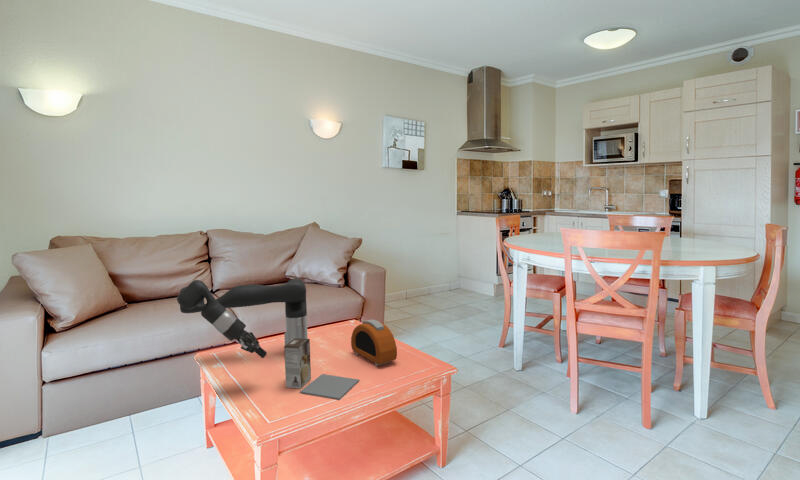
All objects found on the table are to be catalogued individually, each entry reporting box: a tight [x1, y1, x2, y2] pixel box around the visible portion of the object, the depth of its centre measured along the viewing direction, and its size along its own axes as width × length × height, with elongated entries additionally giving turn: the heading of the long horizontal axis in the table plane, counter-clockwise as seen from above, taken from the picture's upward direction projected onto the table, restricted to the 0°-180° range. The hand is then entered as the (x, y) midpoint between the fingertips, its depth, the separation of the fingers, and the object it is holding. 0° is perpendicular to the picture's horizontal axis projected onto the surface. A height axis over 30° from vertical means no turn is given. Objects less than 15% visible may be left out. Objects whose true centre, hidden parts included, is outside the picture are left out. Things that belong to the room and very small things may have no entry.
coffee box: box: [283, 338, 312, 390], centre depth 164 cm, size 9×6×16 cm
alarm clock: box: [350, 319, 398, 367], centre depth 188 cm, size 23×9×17 cm, turn 37°
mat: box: [299, 373, 360, 401], centre depth 161 cm, size 16×16×1 cm
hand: (265, 355), depth 161 cm, fingers closed
